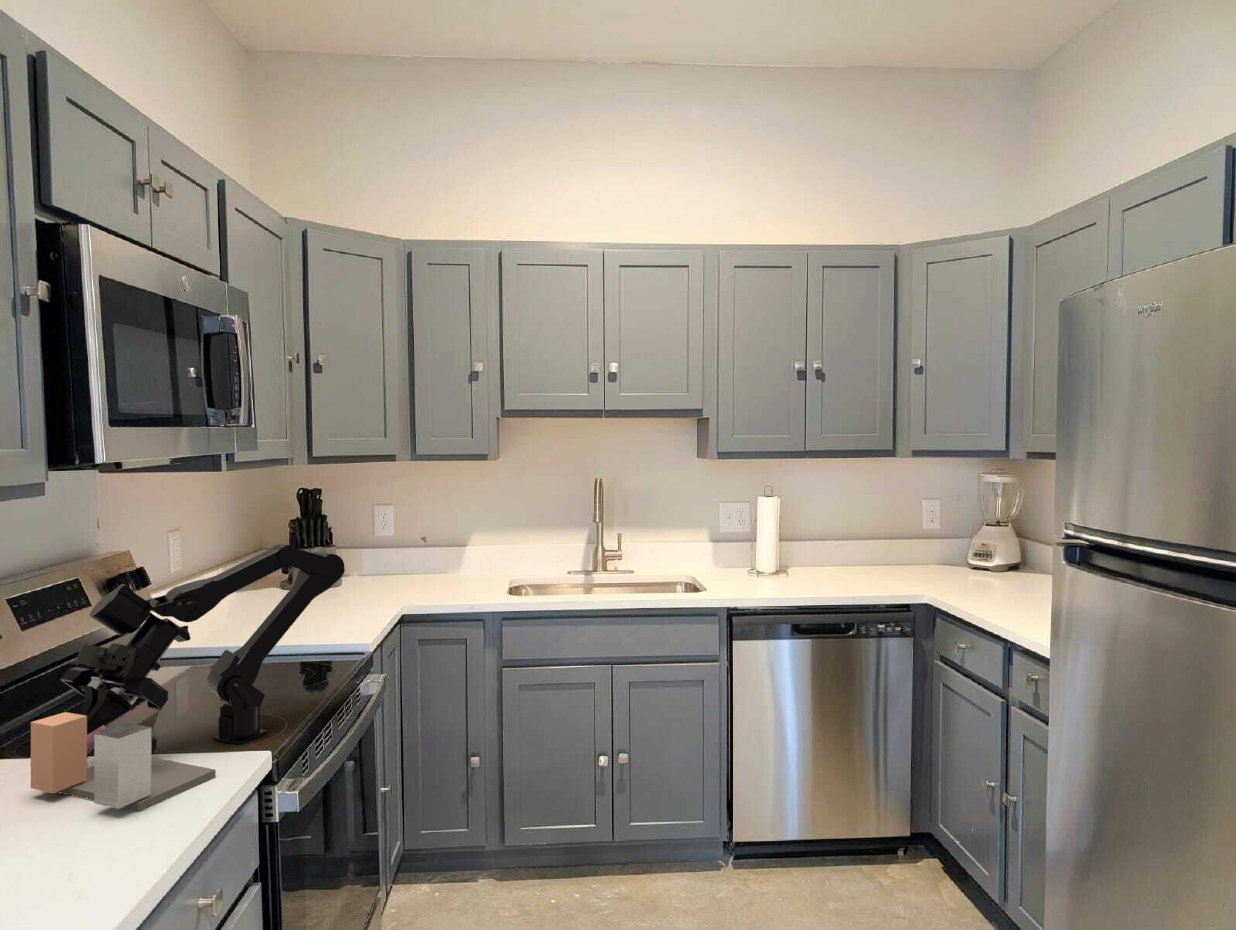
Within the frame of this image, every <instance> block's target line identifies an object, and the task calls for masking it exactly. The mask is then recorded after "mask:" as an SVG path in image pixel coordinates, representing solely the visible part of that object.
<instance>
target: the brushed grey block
mask: <svg viewBox="0 0 1236 930" xmlns="http://www.w3.org/2000/svg"><path fill="white" fill-rule="evenodd" d="M93 750H94V751H93V753H94V755H93V757H94V761H93V762H94V765H93V766H94V801H93V802H94V803H93V804H95V805H101V806H104V807H109V808H113V809H117V810H119V809H122V807H124V806H126V805H128V804H131V803H133V802H135V801H137V800H140V799H142V798H144V797H147V796H149V795H151V757H152V727H151V726H148V725H147V726H146V725H141V724H140V725H139V724H134V723H129V722H127V723H124V724H121V725H118V726H115V727H112V728H109V729H107V730H106V729H105V731H103V732H100V733H97V734H94V749H93Z"/></svg>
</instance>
